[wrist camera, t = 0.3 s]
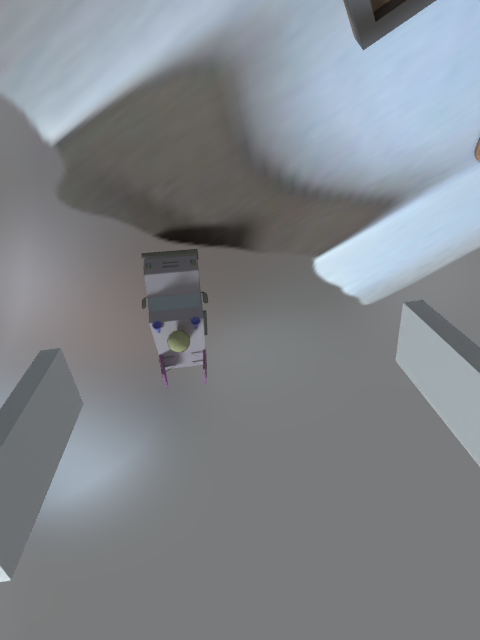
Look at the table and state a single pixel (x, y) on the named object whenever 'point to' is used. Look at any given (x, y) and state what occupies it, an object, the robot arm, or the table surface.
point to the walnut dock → (380, 17)
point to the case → (477, 151)
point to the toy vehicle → (176, 308)
